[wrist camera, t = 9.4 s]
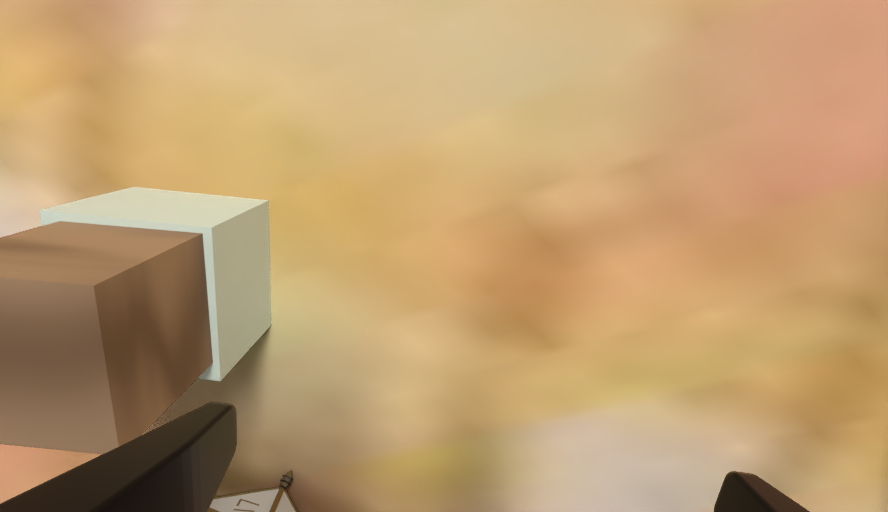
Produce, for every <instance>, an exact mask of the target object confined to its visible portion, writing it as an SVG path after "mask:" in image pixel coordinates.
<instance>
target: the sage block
mask: <svg viewBox="0 0 888 512" xmlns="http://www.w3.org/2000/svg"><path fill="white" fill-rule="evenodd" d="M39 212H40V218H41V224H42V226H44V225H47V224H51V223H55V222H58V221H65V222H77V223H88V224H100V225H112V226H123V227H135V228H146V229H158V230H169V231H181V232H193V233H203V245H204V257H205V269H206V282H207V294H208V307H209V319H210V332H211V344H212V357H213V363H212V364H211V365H210V366H209V367H208V368H207V369H206V370H205V371H204V372H203V373H202V374H201V375H200V376H199V377H198V378H197V379H205V380H214V381H221V380H222V379H223V378H224V377H225V376H226V375H227V374H228V372H229V371H230V370H231V369H232V368H233V367H234V366H235V365H236V364H237V362H238V361H239V360H240V359H241V358H242V357H243V356H244V355H245V354H246V352H247V351H248V350H249V349H250V348H251V347H252V346H253V345H254V344H255V342H256V341H257V340H258V339H259V338H260V337H261V336H262V335H263V334H264V332H265V331H266V330H267V329H268V328H269V327H270V326H271V284H270V236H269V200H260V199H250V198H240V197H230V196H220V195H211V194H201V193H191V192H181V191H171V190H161V189H151V188H141V187H131V188H127V189H123V190H119V191H115V192H111V193H107V194H103V195H98V196H94V197H90V198H86V199H82V200H78V201H74V202H70V203H66V204H62V205H58V206H54V207H50V208H45V209H41V210H39Z"/></svg>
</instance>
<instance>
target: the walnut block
mask: <svg viewBox="0 0 888 512" xmlns="http://www.w3.org/2000/svg"><path fill="white" fill-rule="evenodd" d="M212 363H213V357H212V344H211V332H210V319H209V307H208V294H207V282H206V269H205V257H204V245H203V233H193V232H181V231H169V230H158V229H146V228H135V227H123V226H112V225H100V224H88V223H77V222H65V221H58V222H55V223H51V224H47V225H44V226H40V227H37V228H33V229H30V230H26V231H23V232H19V233H16V234H12V235H9V236H5V237H2V238H0V444H4V445H15V446H25V447H35V448H45V449H55V450H65V451H75V452H85V453H95V454H104V453H107V452H109V451H111V450H113V449H115V448H117V447H119V446H121V445H123V444H125V443H127V442H129V441H131V440H133V439H136V438H138V437H140V436H141V435H142V434H143V433H144V432H145V431H146V430H147V429H148V428H149V427H150V425H151V424H152V423H153V422H154V421H155V420H156V419H157V418H158V417H159V416H160V415H161V414H162V413H163V412H164V411H165V410H166V409H167V408H168V407H169V406H170V405H171V404H172V403H173V402H174V401H175V400H176V399H177V398H178V397H179V396H180V395H181V394H182V393H183V392H184V391H185V390H186V389H187V388H188V387H189V386H190V385H191V384H192V383H193V382H194V381H195V380H196V379H197V378H198V377H199V376H200V375H201V374H202V373H203V372H204V371H205V370H206V369H207V368H208V367H209V366H210V365H211V364H212Z"/></svg>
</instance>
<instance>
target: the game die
mask: <svg viewBox="0 0 888 512" xmlns="http://www.w3.org/2000/svg"><path fill="white" fill-rule="evenodd" d="M291 480H293V479H292V470H291V471H290V472H288V473H287V474H285V475H283V478H282V480H280V481H281V484H280V486H279V487H273V488H267V489H261V490H254V491H248V492H242V493H236V494H230V495H223V496H217V497H214V499H213V501H212V503H211V505H210V507H209V509H208V511H207V512H297V510H296V508H295V506H294V504H293V503H292V501H291V499H290V497H289V495H288V494H287V492H286V490H285V489H286V487H287V486H288V485H290V482H291Z"/></svg>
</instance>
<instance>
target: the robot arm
mask: <svg viewBox="0 0 888 512" xmlns="http://www.w3.org/2000/svg"><path fill="white" fill-rule="evenodd" d="M236 445H237V421H236V409H235V406H233V405H232V404H227V403H220V402H210V403H208V404H206V405H204V406H202V407H200V408H198V409H195V410H193V411H191V412H189V413H187V414H185V415H183V416H181V417H179V418H177V419H175V420H173V421H171V422H169V423H167V424H164V425H162V426H160V427H158V428H156V429H154V430H152V431H150V432H148V433H146V434H144V435H142V436H140V437H138V438H136V439H133V440H131V441H129V442H127V443H125V444H123V445H121V446H119V447H117V448H115V449H113V450H111V451H109V452H107V453H104V454H102V455H100V456H98V457H96V458H94V459H92V460H90V461H88V462H86V463H84V464H82V465H80V466H78V467H76V468H73V469H71V470H69V471H67V472H65V473H63V474H61V475H59V476H57V477H55V478H53V479H51V480H49V481H47V482H44V483H42V484H40V485H38V486H36V487H34V488H32V489H30V490H28V491H26V492H24V493H22V494H20V495H18V496H15V497H13V498H11V499H9V500H7V501H5V502H3V503H1V504H0V512H207V511H208V509H209V507H210V505H211V503H212V501H213V499H214V496H215V494H216V492H217V490H218V488H219V486H220V484H221V481H222V479H223V477H224V475H225V473H226V471H227V469H228V466H229V464H230V462H231V460H232V458H233V456H234V453H235V450H236ZM714 512H809V511H808V510H807V509H805V508H804V507H802V506H801V505H799V504H798V503H796V502H795V501H793V500H792V499H790V498H789V497H787V496H786V495H784V494H783V493H781V492H780V491H779V490H777V489H776V488H774V487H773V486H771V485H770V484H768V483H767V482H765V481H764V480H762V479H761V478H759V477H758V476H756V475H754V474H750V473H743V472H736V471H732V472H729V473H728V474H727V475H726V477H725V479H724V482H723V484H722V487H721V490H720V492H719V495H718V498H717V501H716V503H715V507H714Z"/></svg>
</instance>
